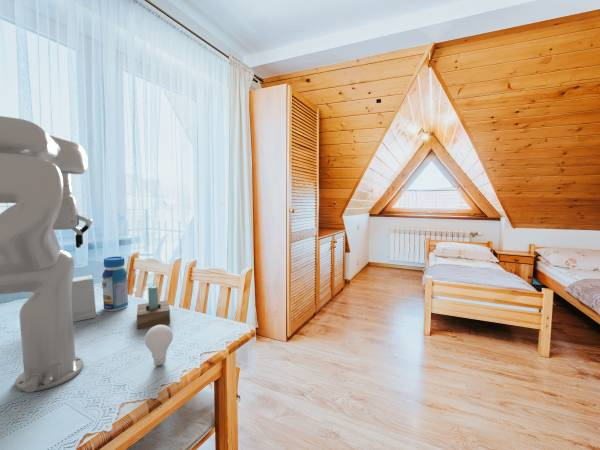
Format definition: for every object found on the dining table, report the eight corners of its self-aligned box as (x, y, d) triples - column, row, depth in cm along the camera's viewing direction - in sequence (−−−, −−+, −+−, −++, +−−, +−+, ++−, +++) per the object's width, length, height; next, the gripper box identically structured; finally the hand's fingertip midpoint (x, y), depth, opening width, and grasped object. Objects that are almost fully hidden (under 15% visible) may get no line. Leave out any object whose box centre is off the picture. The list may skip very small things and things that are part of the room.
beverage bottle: (126, 310, 109) (124, 259, 107) (100, 313, 106) (97, 261, 104) (130, 302, 117) (128, 255, 115) (106, 304, 114) (104, 256, 112)
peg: (158, 321, 101) (157, 288, 100) (148, 322, 99) (148, 289, 98) (158, 317, 103) (157, 285, 102) (149, 319, 102) (148, 286, 101)
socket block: (170, 323, 99) (169, 310, 99) (137, 329, 95) (136, 315, 94) (168, 313, 108) (168, 300, 108) (138, 317, 103) (137, 304, 103)
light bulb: (166, 355, 80) (165, 318, 79) (178, 364, 76) (177, 325, 75) (141, 365, 75) (139, 326, 74) (152, 376, 71) (151, 334, 70)
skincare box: (95, 312, 107) (93, 274, 105) (96, 318, 102) (94, 278, 101) (66, 318, 102) (64, 277, 100) (66, 324, 97) (63, 282, 95)
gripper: (10, 190, 77) (15, 252, 78) (88, 192, 85) (91, 248, 86) (21, 190, 83) (25, 247, 85) (93, 192, 91) (95, 244, 93)
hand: (58, 248), depth 86 cm, fingers open, 9 cm apart
